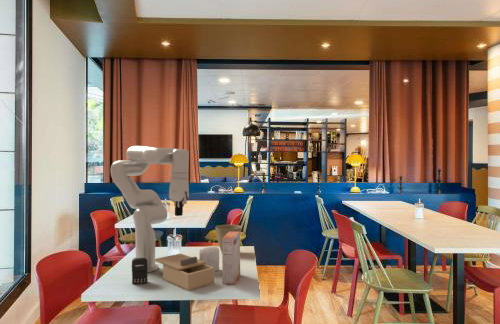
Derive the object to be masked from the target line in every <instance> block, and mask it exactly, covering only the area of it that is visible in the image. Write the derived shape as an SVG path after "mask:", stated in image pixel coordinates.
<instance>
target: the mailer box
mask: <svg viewBox="0 0 500 324" xmlns="http://www.w3.org/2000/svg"><path fill="white" fill-rule="evenodd" d="M162 280H163V281H165V282H167V283H170V284H171V285H174V286H175V287H176V286H177V287H178V288H180V289H182V290H185V291H187V292H189V291H193V290H196V289H200V288H203V287H205V286H209V285H213V284H215V271H214V267H211V266H208V265H205V264H202V265H198V266H194V267H190V268H186V269H182V270H176V269H174V268H171V267H169V266H166V265H164V264H162Z"/></svg>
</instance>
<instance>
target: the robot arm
mask: <svg viewBox="0 0 500 324" xmlns="http://www.w3.org/2000/svg"><path fill="white" fill-rule="evenodd" d="M125 154H126V157H127V158H126V159H122V160H115V161H114V162H112V164H111V166H110V176H111V178H112V179H111V180H112V182H113V183H114V185H116V187H117V188H118V189H119V190H120V192H121V194H122V196H123V197H124V199H125V201H126V203H127V204H128V206H129V207H130V208H131V209H134V212H133V223H134V230H135V231H134V232H135V233H134V234H135V258H136V257H146V258H147V259H148V273H152V272H155V271H157V270H158V269H159V264H157V263H156V261H154V259H156V232H155V230H154V228H153V226H152V225H156V224H161V223H164V222H165V221H166V220H167V219H168V211H167V208H166V206H165V205H164V203H163V201H162V200H161V198H160V196H159V195H158V193H157V192H155V191H154V190H153V189H150V188H149V189H141V188H139V186H138V185H137V183H136V181H135V180H133V179H132V178H131V177H133V176H137V177H138V176H141V175H143V174H144V173H145V172H146V171H147V169H148V168H149V166H150V165H151V164H152V165H171V177H170V183H169V188H168V189H169V190H168V199H169V200H170V201H171V202H173V206H174V216H176V217H180V216H183V213H184V209H183V208H184V206H185V205H187V203H188V201H189V195H190V191H189V189H190V188H189V163H190V162H189V156H190V155H189V154H190V153H189V150H188V149H184V148H183V149H182V148H176V147H175V148H173V147H171V148H169V147H153V146H151V145H133V146H130V147H129V148H128V149H127V150H126V152H125Z"/></svg>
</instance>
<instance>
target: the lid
mask: <svg viewBox="0 0 500 324" xmlns="http://www.w3.org/2000/svg"><path fill="white" fill-rule="evenodd" d="M154 261H155V263H156V262H157V263H159V264H162V265H163V264H164V265H166V266H169V267H171V268H174V269H176V270H182V269H186V268H190V267H194V266H198V265H202V264H206V262H204V261H201V260H199V258H198V257H197V256H189V255H186V254H184V253H177V254H173V255H172V254H171V255H169V256H162V257H158V258H155V259H154Z"/></svg>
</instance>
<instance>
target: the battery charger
mask: <svg viewBox="0 0 500 324" xmlns="http://www.w3.org/2000/svg"><path fill="white" fill-rule="evenodd" d="M148 276H149V272H148V259H147V258H146V257H136V256H135V257H134V258H132V260H131V283H132V285H143V284H147V283H148V282H149V281H148V280H149V279H148Z"/></svg>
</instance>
